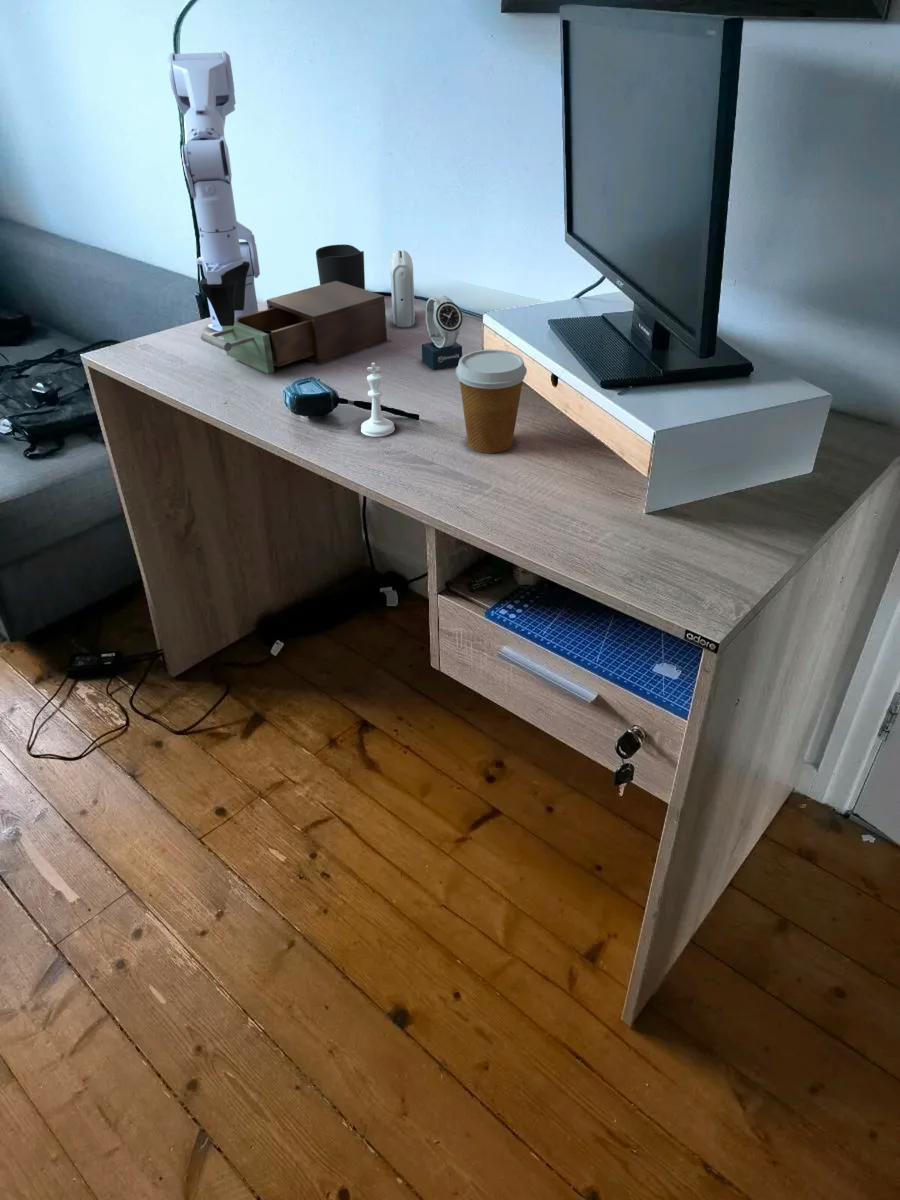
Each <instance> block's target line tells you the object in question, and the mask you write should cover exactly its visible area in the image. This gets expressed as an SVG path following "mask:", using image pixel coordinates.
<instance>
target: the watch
mask: <svg viewBox="0 0 900 1200" xmlns="http://www.w3.org/2000/svg"><path fill="white" fill-rule="evenodd" d="M424 317H425V324H426V329H427V334H428V336H429V339H431V342H425V343H421V363H422V364H424V365H425V366H427V367H428V368H430V369H431V370H433V371H436V370H441V369H445V368H446V369H447V368H452V367H457V366H458V364H459V360H460V358H461V357H462V356H463V345H461V344H459V343H458V342H457V341H458V337H459V335H460V333H461V327H462V325H463V322H464V317H465V314H464V312H462V309H461V308H460V307H459V305H458V304H457V303H455V302H454V301H453V299H452V298H450V297H448V296H447V295H438V296H432V297H429V298H428V299H427V301H426V304H425V315H424Z"/></svg>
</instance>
